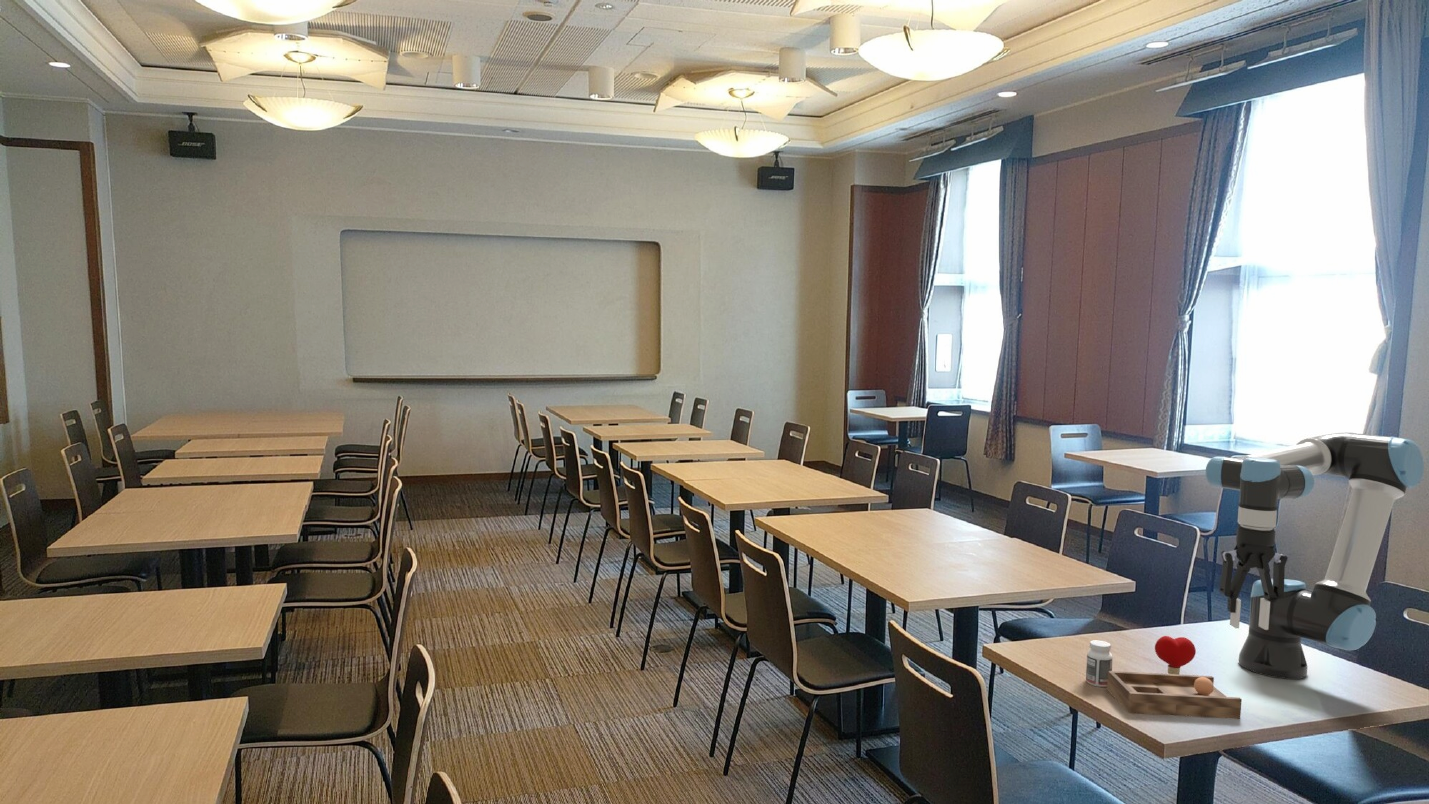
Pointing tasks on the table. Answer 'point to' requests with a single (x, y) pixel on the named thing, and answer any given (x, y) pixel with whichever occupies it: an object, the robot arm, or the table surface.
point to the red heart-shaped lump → (1175, 652)
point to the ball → (1203, 686)
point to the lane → (1169, 695)
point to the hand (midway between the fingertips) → (1248, 626)
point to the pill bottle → (1098, 663)
